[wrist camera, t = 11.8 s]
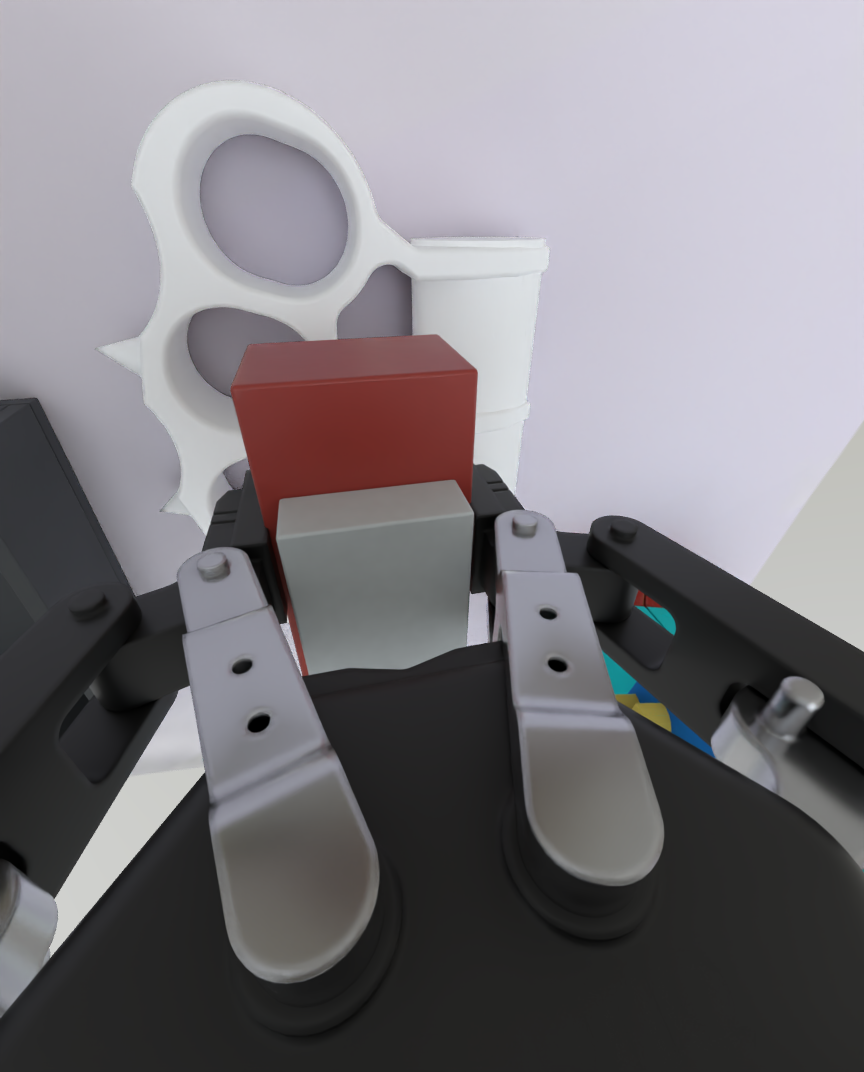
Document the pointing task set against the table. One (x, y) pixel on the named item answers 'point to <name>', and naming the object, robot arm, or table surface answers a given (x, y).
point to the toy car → (365, 492)
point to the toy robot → (638, 696)
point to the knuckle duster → (310, 287)
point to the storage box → (43, 528)
